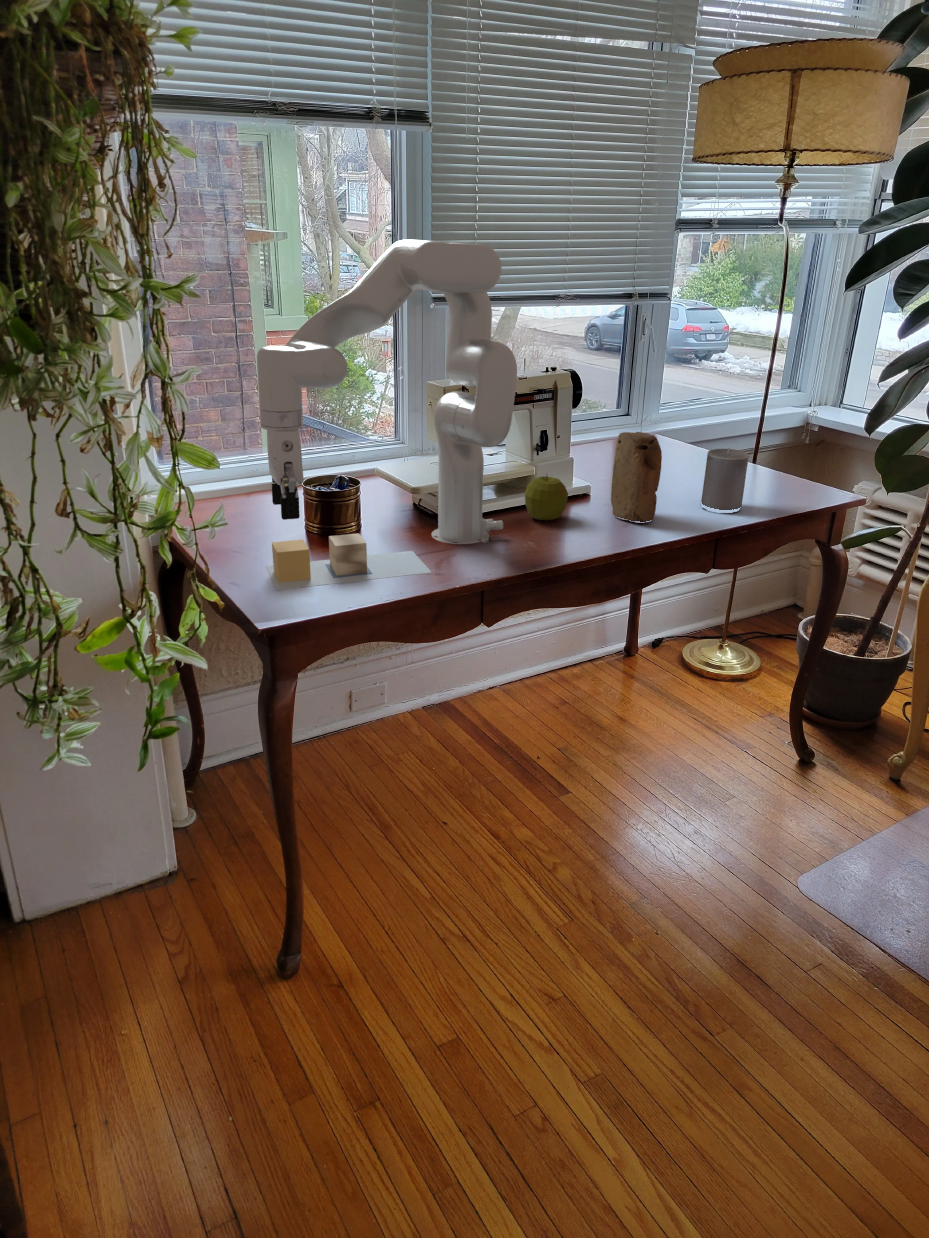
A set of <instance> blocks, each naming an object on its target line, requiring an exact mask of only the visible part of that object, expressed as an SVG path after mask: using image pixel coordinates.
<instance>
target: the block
mask: <svg viewBox="0 0 929 1238" xmlns="http://www.w3.org/2000/svg"><path fill="white" fill-rule="evenodd" d="M616 439H617V440H616V445H615V450H614V451H615V452H614V458H613V459H614V461H613V465H612V466H613V468H612V477H611V491H610V502H611V503H610V504H611V506H612V507H611V508H612V515H613V516H614V515H615V516H617V517H620V518H624V519H628V520H631V521H640V522H646V521H650V520H652V521H653V520H654V518H655V515H656V509H657V497H658V496H657V494H656V492H657V491H658V490H659V489H658V488H659V484H660V480H661V474H662V473H661V472H662V461H663V460H662V459H663V457H662V456H663V455H662V453H663V451H662V448H661V445H660V443H659V440H658V438H657V436H656V435H653V434H650V433H648V432H643V431H636V432H629V431H623V432H620V433H619V434H618V435H617V438H616ZM615 516H614V517H615Z"/></svg>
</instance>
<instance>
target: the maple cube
mask: <svg viewBox="0 0 929 1238" xmlns="http://www.w3.org/2000/svg"><path fill="white" fill-rule="evenodd" d="M328 547H329V549H328V551H329V553H328V554H329V560H330V566H331V568H332V569H333V571H334V572H335V574H336V575H337V576H339V575H348V574H357V573H366V572H367V556H368V554H367V542H366V540H365V539H364V537H362V536H361V534H360V533H348V534H340V535H339V534H336V535H329V536H328Z"/></svg>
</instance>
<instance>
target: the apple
mask: <svg viewBox="0 0 929 1238" xmlns="http://www.w3.org/2000/svg"><path fill="white" fill-rule="evenodd" d="M568 499H569V492H568V490H567V488H566V486H565V484H564V483H563V482H562V481H561V480H560V478H556V477H551V476H548V473H546V476H545V475H544V476H539V477H538V476H537V477H534V478H533V479H532V480H531V481H530V482H529V483H528V485H527V486H526V489H525V491H524V504H525V507H526V509H527V512H528V515H529V516H530V517H531V518H534V519H536V520H537V519H538V521H541V520H545V522H549V521H548V520H551V521H554V520H555V519H558V518H561V516H562V515H563V513H564V511H565V509H566V508H567V507H566V506H567V504H568V503H567V502H568ZM546 520H547V521H546Z"/></svg>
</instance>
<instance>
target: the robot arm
mask: <svg viewBox="0 0 929 1238" xmlns="http://www.w3.org/2000/svg"><path fill="white" fill-rule="evenodd" d="M502 268H503V267H502V262H501V257H500V256H499V254H498V253H497V252H496V250H494V248H492V247H491V246H488V245H487V244H486V245H485V244H480V243H479V244H478V243H463V242H445V241H444V242H443V241H438V240H437V241H436V240H423V239H408V238H407V239H406V238H405V239H401V240H397V241H395V242H394V243H392V244H391V246H389V247H388V249H386V250H385V252H384V253H383V254H382V255H381V256H380V257H379V258H378V259H377V260H376V261H375V263H374V264H373V265H372V266H371V267H370V269H368V271H367V272H366V273H365V274H364V275H363V276H362V277H361V278H360V279H359V280H358V281H357V283H356V284H355V285H354V286H353V287H352V289H350V290H349V291H348V292H347V293H345V294H344V295H342V296H340V297H338V298H336V299H335V300H333V302H331V303H329V304H328V305H326V306H325V307H323V308H321V309H320V310H319V311H317V312H316V313H314V314H313V315H311V316H310V317H309V318H308V319H307V320H306V321H305V322H304V323H302V325H301V326H300V327H299V328H298V330H296V331H295V333H294V334H293V335H292V336H291V337H290V338H289V339H288V341H287V342H286V344H285V345H268V346H263V347H261V348H259V349H258V351H257V354H256V367H257V371H256V372H257V385H258V386H257V387H258V405H259V422H260V423H259V425H260V428H261V429H263V430H266V440H267V441H266V443H267V446H266V447H267V460H268V469H269V474H270V476H271V482H272V483H271V496H272V498H271V499H272V500H271V501H272V504H273V506H274V505H275V506H276V505H280V516H281V520H283V521H286V520H297V519H300V517H301V515H300V497H299V491H298V490H299V489H298V484H299V485H302V484H303V483H304V481H305V479H304V467H303V454H302V444H301V437H300V430H301V429H303V428H304V414H303V412H304V411H303V389H304V388H305V389H320V390H327V389H333V388H335V387H337V386H339V385H341V383H343V381H344V380H345V378H346V377H347V375H348V367H349V366H348V361H347V359H346V357H345V356H344V354H343V353H342V352H341V351H340V350H338V349H337V347H338V345H341V344H342V343H343V342H345V341H347V340H350V339H352V338H354V337H357V336H360V335H365V334H368V333H371V332H374V331H376V330H378V329H382V328H383V327H384V326H385V325H387V323H388V322H389V321H390V320H391V319H392V317H393V316H394V315H395V314H396V313H397V312H398V310H399V309H401V307H402V306H403V305H404V304H405V302H406V301H407V300H409V298H410V297H411V296H412V295H413V293H415V292H416V291H418V290H420V291H427V292H429V291H430V292H437V293H438V292H439V293H442V294H443V296H444V298H445V300H446V302H447V306H448V313H449V316H448V317H449V319H448V320H449V322H448V323H449V324H448V333H447V334H448V335H447V346H446V356H445V358H446V359H445V370H446V371H445V373H446V374H447V377H448V378H449V380H450V381H452V382H454V383H456V384H457V385H461V386H465V387H469V388H474V389H475V393H474V394H473V393H470V392H468V391H467V392H466V391H450V392H447V393H445V394H444V395H442V396H441V397H440V399H438V400H437V403H436V405H435V407H434V411H433V412H434V413H433V421H434V422H433V423H434V427H435V434H436V440H437V451H438V487H437V488H438V494H437V495H438V498H437V499H438V501H437V502H438V503H437V504H438V506H437V507H438V509H437V513H438V514H437V515H438V516H437V521H438V523H437V526H438V527H437V528H435V529H434V530H433V531H432V532H431V537H432V539H434V540H436V541H438V542H441V543H447V544H451V545H470V544H476V543H481V542H482V543H483V544H487V542H488V543H489V540H490V539H489V538H490V535H489V532H490V531H491V530H493V531H494V530H495V531H497V530H498V531H499V530H503V529H504V522H503V520H494V519H493V518H487V519H485V518H484V517H483V501H484V500H483V498H484V496H483V495H484V471H485V470H484V468H485V465H484V462H485V461H484V460H485V459H484V454H483V448H484V447H485V448H494V447H497V446H499V445H501V444H502V443H503V442H504V441H505V440H506V438H507V436H508V435H509V432H510V429H511V426H512V422H513V421H512V420H513V413H514V406H515V395H516V387H517V379H518V365H517V360H516V357H515V354H514V352H513V351H512V350H511V348H510V347H509V346H507V345H506V344H504V343H502V342H499V341H496V340H492V323H493V320H492V319H493V311H492V310H493V309H492V302H491V299H490V296H489V294H488V292H489V291H491V290H492V289H493V288H494V287H495V286H496V285H497V284H498V282H499V280H500V278H501V275H502ZM482 447H483V448H482ZM297 483H298V484H297Z"/></svg>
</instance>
